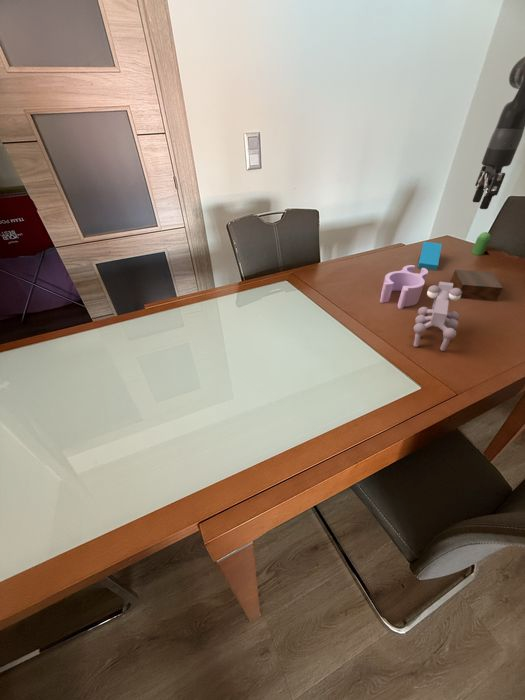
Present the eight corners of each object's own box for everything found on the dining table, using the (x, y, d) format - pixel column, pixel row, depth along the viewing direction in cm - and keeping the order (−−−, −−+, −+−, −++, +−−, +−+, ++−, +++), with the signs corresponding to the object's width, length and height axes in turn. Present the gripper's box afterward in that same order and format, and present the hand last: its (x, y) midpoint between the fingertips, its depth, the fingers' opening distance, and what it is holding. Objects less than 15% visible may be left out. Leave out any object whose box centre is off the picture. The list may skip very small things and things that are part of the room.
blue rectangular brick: (432, 279, 126) (437, 252, 134) (437, 265, 120) (442, 238, 129) (414, 276, 128) (420, 250, 137) (419, 263, 122) (425, 236, 131)
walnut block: (485, 284, 111) (491, 272, 108) (496, 301, 102) (503, 287, 99) (450, 281, 114) (454, 269, 111) (457, 297, 105) (462, 284, 102)
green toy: (481, 251, 134) (490, 230, 129) (484, 255, 131) (494, 234, 125) (470, 250, 135) (478, 230, 130) (473, 254, 132) (481, 234, 126)
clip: (397, 279, 117) (402, 262, 113) (430, 289, 110) (437, 271, 106) (373, 299, 106) (377, 281, 102) (408, 311, 99) (414, 293, 95)
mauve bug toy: (416, 311, 99) (429, 273, 91) (452, 319, 95) (469, 279, 87) (406, 345, 86) (421, 304, 77) (448, 356, 82) (468, 314, 73)
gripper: (526, 149, 83) (499, 211, 94) (508, 143, 94) (485, 200, 104) (495, 149, 85) (472, 211, 95) (481, 143, 95) (461, 199, 106)
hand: (479, 205), depth 100 cm, fingers open, 8 cm apart
